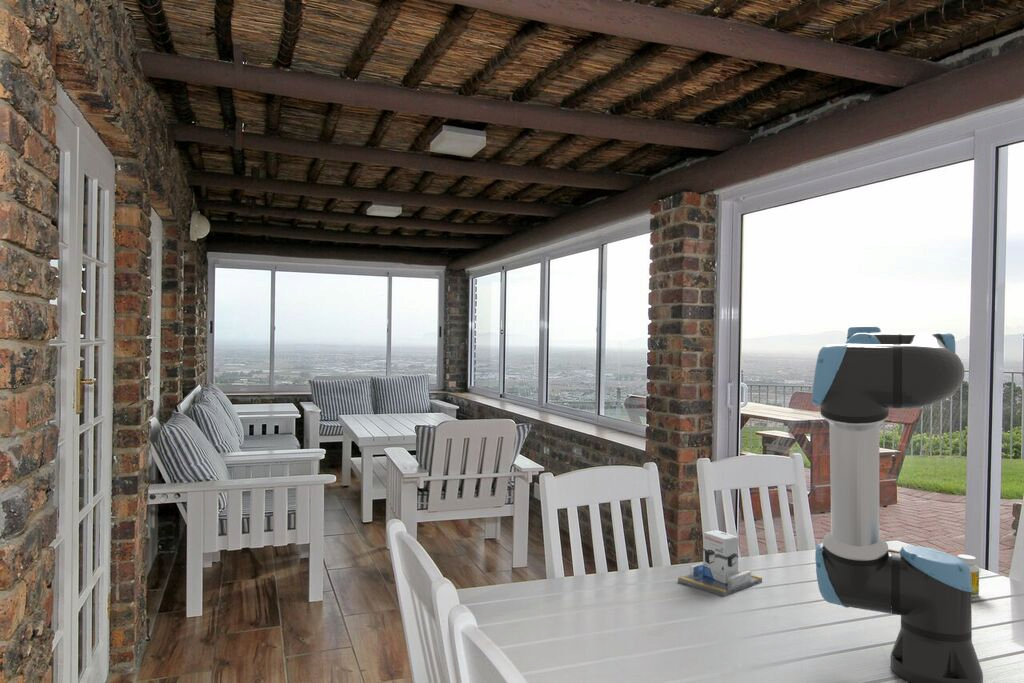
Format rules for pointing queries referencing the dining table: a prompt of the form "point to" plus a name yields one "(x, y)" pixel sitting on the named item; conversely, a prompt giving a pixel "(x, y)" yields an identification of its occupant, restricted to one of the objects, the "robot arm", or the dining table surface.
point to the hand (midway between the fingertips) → (863, 483)
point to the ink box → (720, 555)
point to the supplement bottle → (972, 573)
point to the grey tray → (717, 587)
